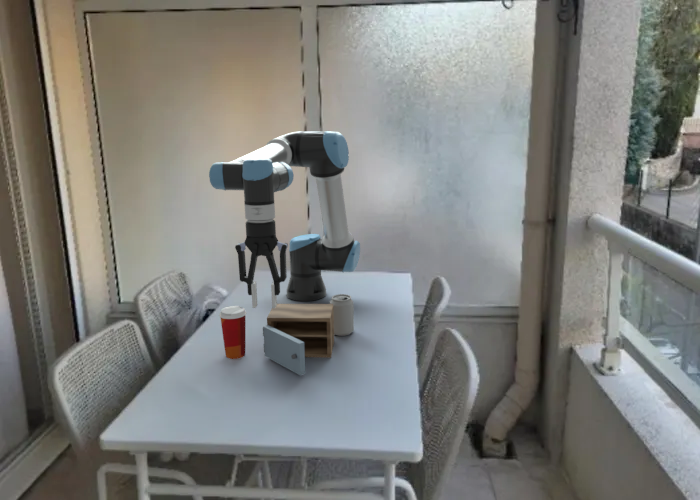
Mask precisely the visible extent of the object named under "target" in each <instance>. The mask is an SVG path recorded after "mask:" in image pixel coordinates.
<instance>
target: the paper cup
mask: <svg viewBox="0 0 700 500" xmlns="http://www.w3.org/2000/svg"><path fill="white" fill-rule="evenodd" d="M246 315H247V311H246V309H245V307H243V306H240V305H231V306H226V307H223V308H221V310H220V313H219V315H218V316H219V318H220V324H221V330H222V339H223V345H224V353H225V357H226V358H227V359H229V360H238V359H242V358H244V357H245V355H246Z"/></svg>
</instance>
